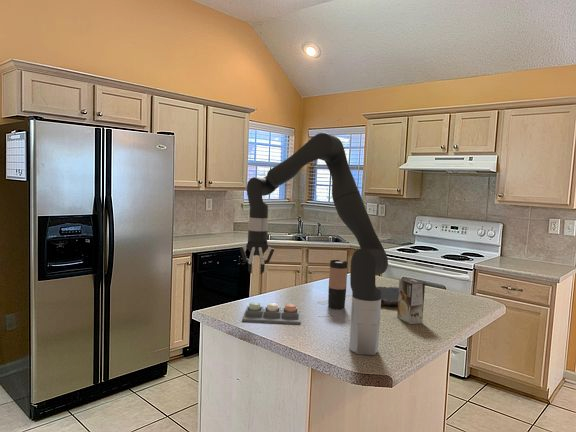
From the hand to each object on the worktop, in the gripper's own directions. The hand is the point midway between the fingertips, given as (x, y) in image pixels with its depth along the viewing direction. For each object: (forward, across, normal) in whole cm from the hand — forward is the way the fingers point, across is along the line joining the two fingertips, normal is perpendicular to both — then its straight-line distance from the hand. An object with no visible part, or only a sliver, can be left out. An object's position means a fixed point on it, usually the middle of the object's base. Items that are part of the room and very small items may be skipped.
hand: (256, 273), depth 167 cm
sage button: (+15, 0, 0) cm, 15 cm away
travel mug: (+17, +34, +19) cm, 43 cm away
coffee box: (+17, +62, +5) cm, 65 cm away
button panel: (+17, +7, 0) cm, 19 cm away
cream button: (+15, +7, 0) cm, 16 cm away
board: (+18, +59, +32) cm, 69 cm away
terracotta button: (+15, +14, 0) cm, 20 cm away
